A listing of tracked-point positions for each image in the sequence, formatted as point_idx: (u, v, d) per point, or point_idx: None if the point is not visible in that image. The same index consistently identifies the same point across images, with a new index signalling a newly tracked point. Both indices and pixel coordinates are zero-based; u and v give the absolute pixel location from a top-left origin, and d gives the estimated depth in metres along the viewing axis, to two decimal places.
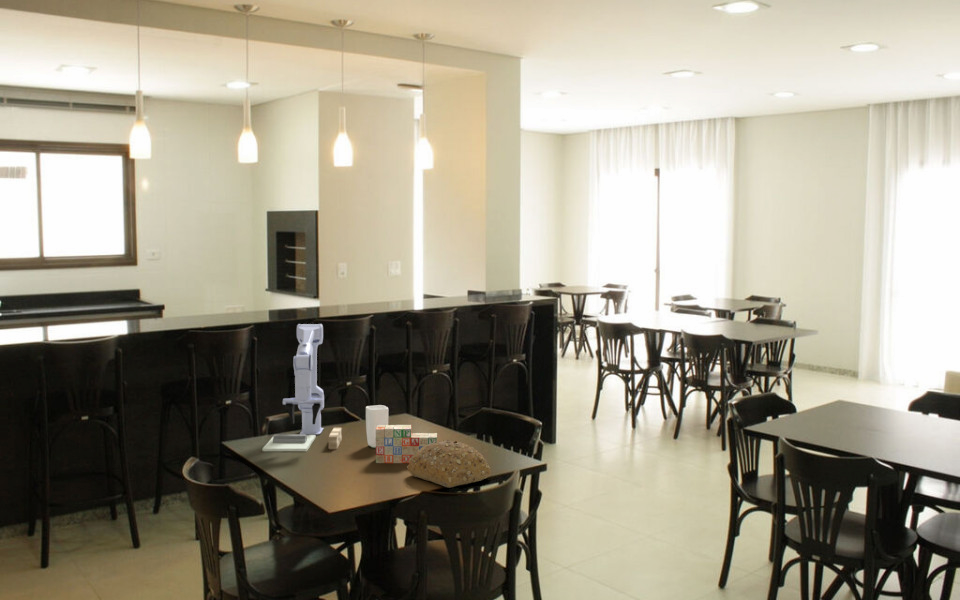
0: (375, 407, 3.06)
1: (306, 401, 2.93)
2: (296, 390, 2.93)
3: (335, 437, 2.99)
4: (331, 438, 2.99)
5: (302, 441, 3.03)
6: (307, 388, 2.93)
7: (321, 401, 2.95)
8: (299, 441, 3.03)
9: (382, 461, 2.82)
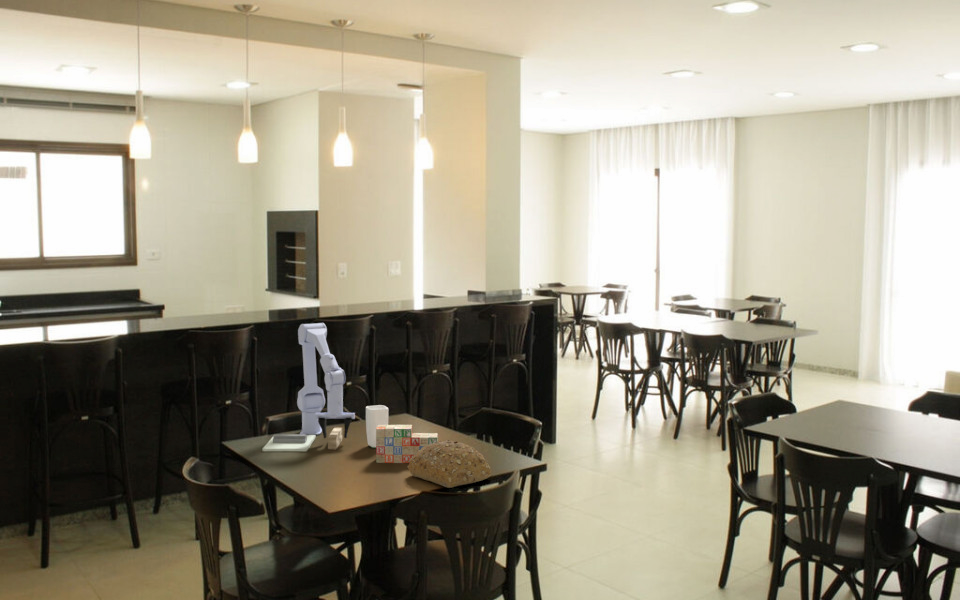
0: (375, 407, 3.06)
1: (338, 415, 3.03)
2: (328, 405, 3.03)
3: (334, 437, 2.99)
4: (330, 438, 2.99)
5: (302, 441, 3.03)
6: (339, 403, 3.03)
7: (352, 415, 3.04)
8: (299, 441, 3.03)
9: (382, 461, 2.82)
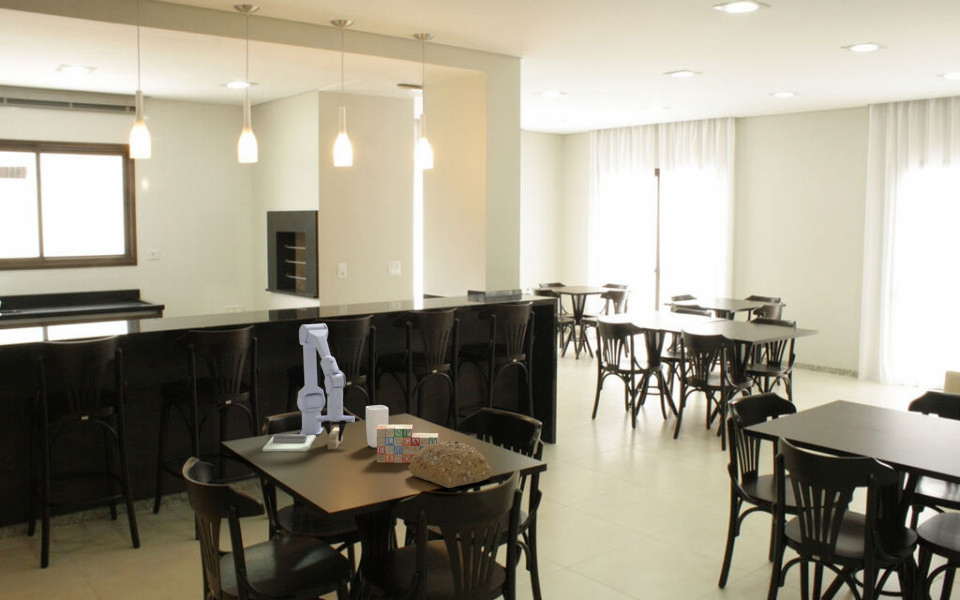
0: (375, 407, 3.06)
1: (338, 419, 3.03)
2: (328, 408, 3.03)
3: (334, 437, 2.99)
4: (330, 438, 2.99)
5: (302, 441, 3.03)
6: (339, 406, 3.03)
7: (352, 419, 3.04)
8: (299, 441, 3.03)
9: (383, 460, 2.83)
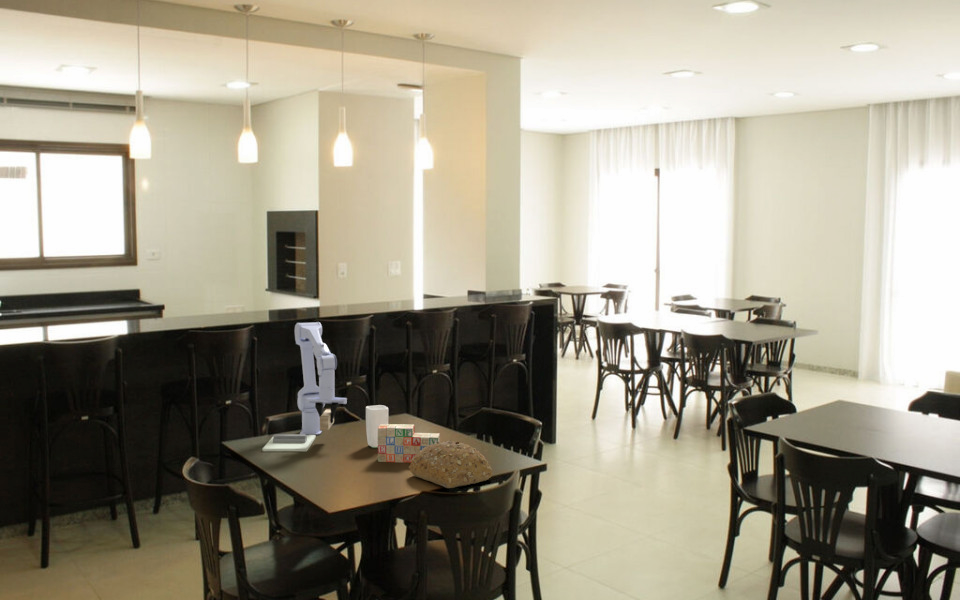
0: (375, 407, 3.06)
1: (330, 400, 3.02)
2: (320, 390, 3.02)
3: (326, 418, 2.98)
4: (322, 419, 2.98)
5: (302, 441, 3.03)
6: (331, 388, 3.02)
7: (344, 400, 3.04)
8: (299, 441, 3.03)
9: (384, 460, 2.83)
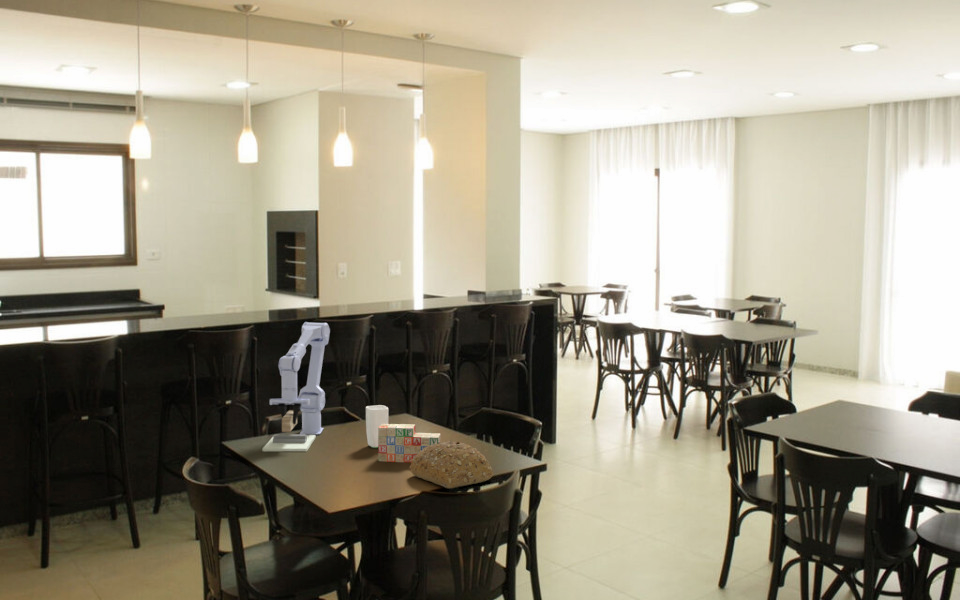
0: (375, 407, 3.06)
1: (292, 401, 3.01)
2: (282, 391, 3.02)
3: (288, 419, 2.97)
4: (284, 420, 2.97)
5: (302, 441, 3.03)
6: (293, 389, 3.02)
7: (307, 401, 3.03)
8: (299, 441, 3.03)
9: (384, 459, 2.84)
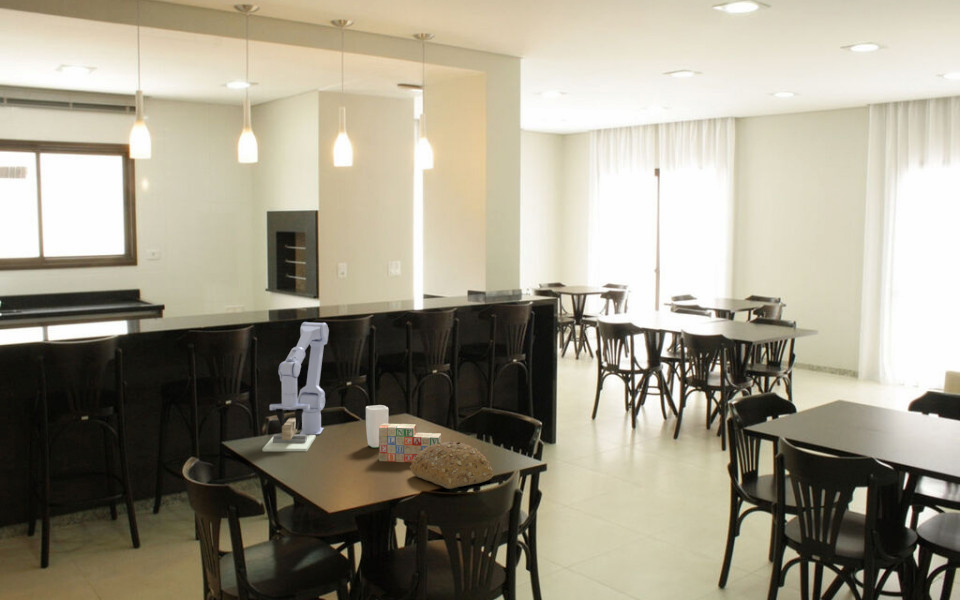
0: (375, 407, 3.06)
1: (292, 407, 3.02)
2: (282, 396, 3.02)
3: (289, 427, 2.98)
4: (285, 428, 2.98)
5: (302, 441, 3.03)
6: (293, 394, 3.02)
7: (307, 407, 3.03)
8: (299, 441, 3.03)
9: (385, 459, 2.84)
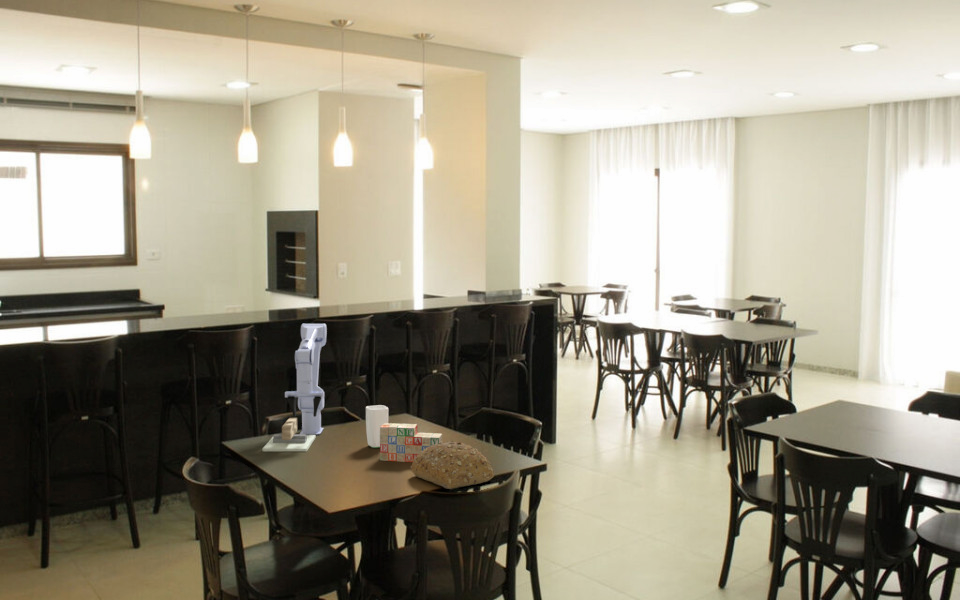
0: (375, 407, 3.06)
1: (307, 394, 3.03)
2: (298, 383, 3.04)
3: (289, 427, 2.98)
4: (285, 428, 2.98)
5: (302, 441, 3.03)
6: (308, 381, 3.04)
7: (322, 394, 3.05)
8: (299, 441, 3.03)
9: (386, 459, 2.85)
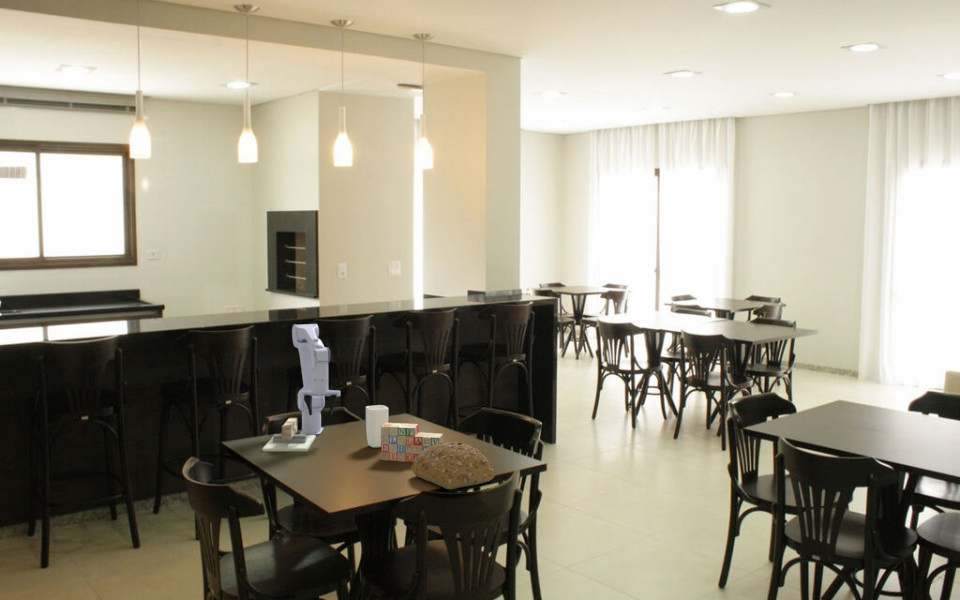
0: (375, 407, 3.06)
1: (324, 393, 3.06)
2: (314, 382, 3.06)
3: (289, 427, 2.98)
4: (285, 428, 2.98)
5: (302, 441, 3.03)
6: (324, 380, 3.06)
7: (338, 393, 3.07)
8: (299, 441, 3.03)
9: (387, 458, 2.85)
